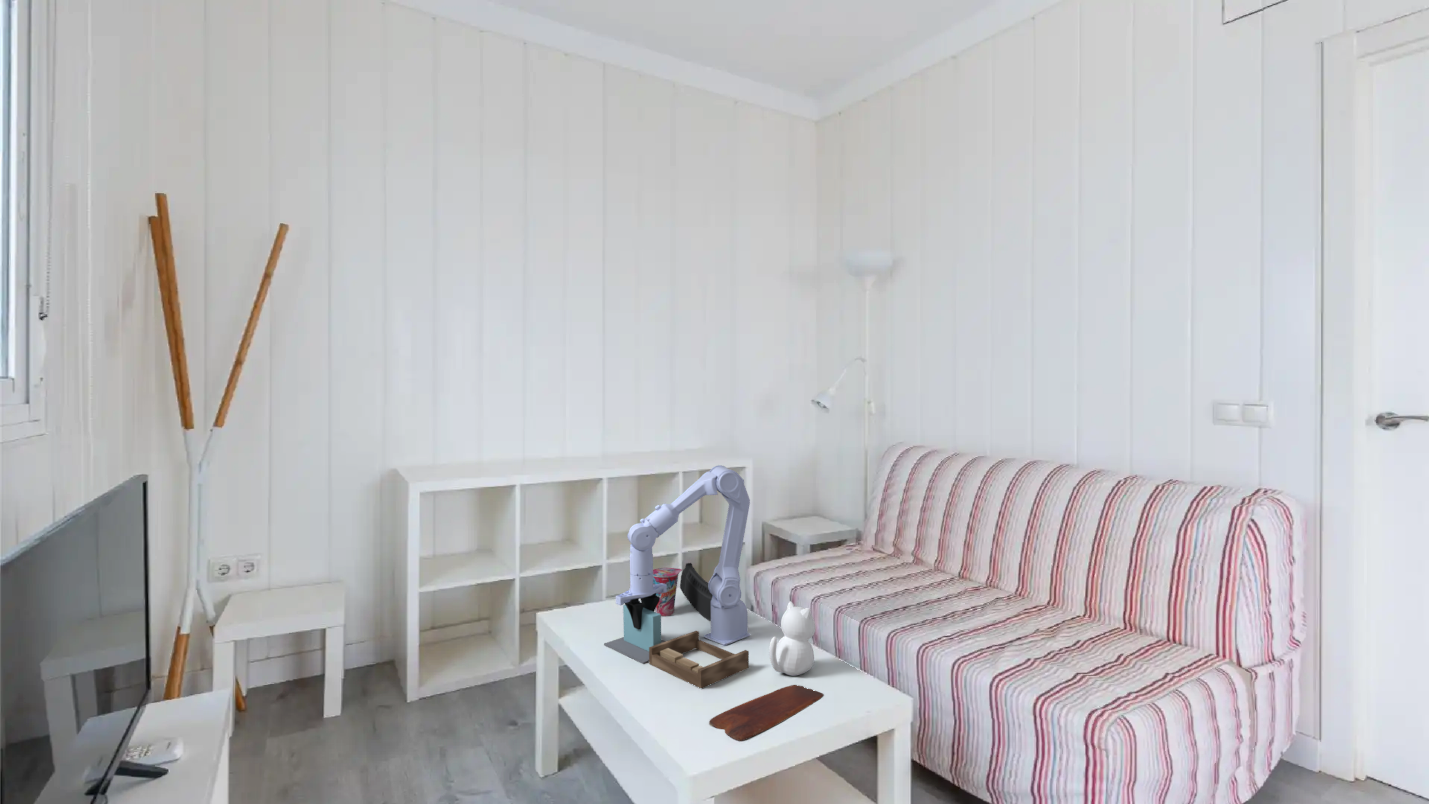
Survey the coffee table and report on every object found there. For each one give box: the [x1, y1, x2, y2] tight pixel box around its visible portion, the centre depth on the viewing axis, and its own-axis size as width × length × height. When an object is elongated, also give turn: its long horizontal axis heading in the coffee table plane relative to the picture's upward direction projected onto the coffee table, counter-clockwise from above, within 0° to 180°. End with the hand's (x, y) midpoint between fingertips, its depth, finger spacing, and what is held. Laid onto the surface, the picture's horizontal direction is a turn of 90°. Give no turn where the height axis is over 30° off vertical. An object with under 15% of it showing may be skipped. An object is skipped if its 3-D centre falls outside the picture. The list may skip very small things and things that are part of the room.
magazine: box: [679, 562, 713, 622], centre depth 200 cm, size 17×3×30 cm
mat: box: [603, 636, 667, 665], centre depth 175 cm, size 12×16×1 cm
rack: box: [648, 630, 750, 689], centre depth 163 cm, size 15×18×4 cm
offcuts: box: [660, 648, 703, 673], centre depth 161 cm, size 2×15×3 cm, turn 44°
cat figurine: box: [768, 600, 816, 677], centre depth 160 cm, size 9×12×15 cm
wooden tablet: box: [708, 684, 824, 742], centre depth 142 cm, size 27×10×2 cm, turn 133°
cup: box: [653, 567, 683, 617], centre depth 199 cm, size 9×8×12 cm
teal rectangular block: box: [622, 604, 662, 651], centre depth 175 cm, size 2×12×9 cm, turn 44°
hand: (642, 626), depth 175 cm, fingers closed on teal rectangular block, 2 cm apart
